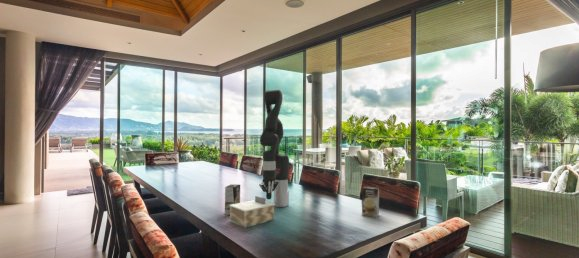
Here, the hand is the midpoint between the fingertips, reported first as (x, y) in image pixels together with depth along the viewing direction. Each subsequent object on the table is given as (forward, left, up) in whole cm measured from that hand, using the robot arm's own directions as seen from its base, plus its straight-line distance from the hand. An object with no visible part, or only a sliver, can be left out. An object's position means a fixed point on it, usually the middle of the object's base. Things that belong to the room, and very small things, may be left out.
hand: (268, 199), depth 169 cm
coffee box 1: (+11, -20, -10) cm, 25 cm away
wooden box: (+12, 0, -10) cm, 15 cm away
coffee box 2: (-46, +38, -10) cm, 60 cm away
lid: (+12, 0, -2) cm, 12 cm away
